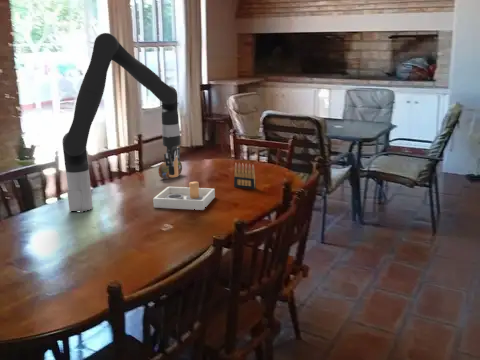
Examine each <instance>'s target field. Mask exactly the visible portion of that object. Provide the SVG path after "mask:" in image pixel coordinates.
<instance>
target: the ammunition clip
mask: <svg viewBox="0 0 480 360" xmlns="http://www.w3.org/2000/svg"><path fill="white" fill-rule="evenodd" d="M256 181H257V180H256V170H255V164H254V163H252V165H251V163H247V162H246V163H245V165H244V163H243V162H242V164H241V163H240V162H238V163H237V162H235V164H234V180H233V186H234V188H239V189H240V188H241V189H249V190H255V189H256V188H257V182H256Z"/></svg>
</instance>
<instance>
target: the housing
mask: <svg viewBox="0 0 480 360" xmlns="http://www.w3.org/2000/svg"><path fill="white" fill-rule="evenodd" d="M188 184H189V187H185V186H167V187H165V188H164V189H163V190H162V191H161V192H159V193H158V194H157V195H156V196H154V197H153V198H152V201H153V208H156V209H157V208H161V209H179V210H194V209H195V210H196V211H199V210H200V211H204V210H205V209H206V208H207V207H208V205H209V204H210V203H211V202H212V201H213V200H214V199H215V198H216V196H215V195H216V192H215V188H207V187H200V185H199V181H190V182H189V183H188ZM205 207H206V208H205ZM195 210H194V211H195Z"/></svg>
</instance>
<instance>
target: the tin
mask: <svg viewBox="0 0 480 360" xmlns="http://www.w3.org/2000/svg"><path fill="white" fill-rule="evenodd" d="M182 170H183V165H182V162H181V161H180V160H179V161H178V176H179V175H181V174H182ZM158 176H159V177H160V178H161V179H163V180H171V179H173V178H174V177H169V166H166V162H165V161H164V162H162V163H161V164H160V165H159V167H158Z"/></svg>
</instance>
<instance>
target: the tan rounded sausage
mask: <svg viewBox="0 0 480 360" xmlns="http://www.w3.org/2000/svg"><path fill="white" fill-rule="evenodd" d="M171 159H173V158H171ZM174 173H175V174H174V175H169V177H173V178H176V177H179V175H178V159H177V157H175V161H174Z"/></svg>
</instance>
